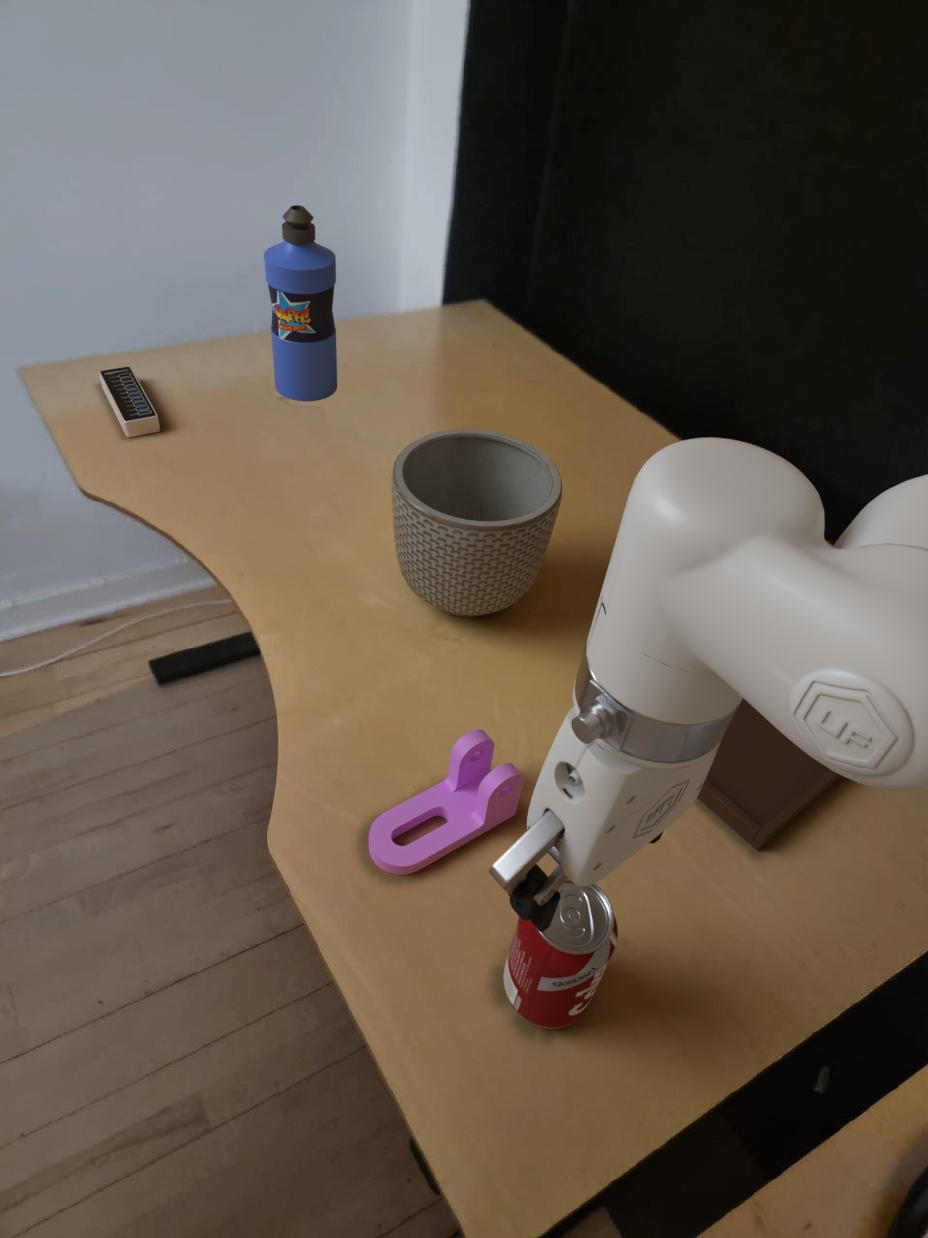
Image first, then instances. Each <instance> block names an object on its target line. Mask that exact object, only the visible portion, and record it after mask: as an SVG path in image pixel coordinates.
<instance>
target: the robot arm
mask: <svg viewBox="0 0 928 1238" xmlns="http://www.w3.org/2000/svg"><path fill="white" fill-rule="evenodd" d="M825 522H826V521H825V508H824V506H823V502H822V499H821V496H820V494H819V492H818V490H817V489H816V487H815V486H814V485H813V483H812V482H811V481H810V480H809V479H808V478H807V476H806V475H805V474H804V473H803V472H802V471H801V470H800V469H798V468H797V467H796V466H795V465H793V464H792V463H791V462H790V461H788V460H787V459H785V458H783V457H782V456H780V455H778V454H776V453H774V452H772V451H770V450H767V449H766V448H763V447H762V446H758V445H755V444H752V443H748V442H745V441H741V440H736V439H732V438H723V437H713V436H712V437H696V438H690V439H684V440H680V441H677V442H673V443H670V444H668V445H667V446H665V447H662V449H660V450H658V451H656V453H654V454H652V456H651V457H649V458H648V459H647V460H646V461H645V462H644V464H643V466H642V467H641V469H639V471H638V472H637V474H636V476H635V478H634V480H633V483H632V485H631V489H630V491H629V494H628V497H627V500H626V503H625V507H624V511H623V514H622V518H621V521H620V524H619V529H618V531H617V535H616V539H615V542H614V545H613V549H612V551H611V556H610V559H609V563H608V566H607V570H606V573H605V576H604V579H603V584H602V587H601V591H600V594H599V597H598V601H597V604H596V608H595V611H594V615H593V618H592V622H591V625H590V629H589V632H588V636H587V639H586V642H585V646H584V649H583V652H582V654H581V655H582V656H581V659H580V663H579V666H578V670H577V673H576V677H575V680H574V683H573V688H572V705H573V706H572V707H571V708H570V710H569V711H568V712H567V714H566V716H565V718H564V719H563V721H562V724H561V726H560V728H559V730H558V731H557V734H556V736H555V737H554V740H553V742H552V744H551V747H550V749H549V751H548V753H547V755H546V758H545V760H544V763H543V765H542V768H541V770H540V772H539V775H538V777H537V780H536V784H535V787H534V788H533V792H532V796H531V799H530V802H529V806H528V811H527V817H526V831H525V832H524V833H523V834H522V835H521V837H519V838H518V839H517V840H516V841H515V842H514V843H513V844H512V845H511V846H510V847H509V848H508V849H507V850H506V851H505V852H504V853H503V854H502V855H500V857H498V858H497V860H496V861H494V863H492V865H491V866H490V867H489V869H488V873H489V874H490V876H491V877H492V878H493V879H494V880H495V882H497V884H498V885H499V886H500V887H501V888H502V889H503V891H505V892H506V893H507V895H508V897H509V901H508V902H509V904H510V906H511V908H512V910H513V911H514V912H515V914H516V915H517V916H518V918H519V917H520V918H521V919H522V920H524V921H528V920H530V921H531V922H532V923H533V924H534V926H535V927H536V928H537V929H538V930H539V931H540V932H544V931H545V930H546V929H548V928H549V927H550V925H551V922H552V919H553V917H554V914H555V911H556V908H557V906H558V903H559V900H560V898H561V897H560V893H559V892H558V889H559V888H560V887H561V885H562V884H563V883H564V882H565V881H566V879H567V878H569V879H570V880H571V881H572V882H573V883H574V884H575V885H576V886H583V887H584V886H590V885H593V884H597V883H598V882H600V881H601V880H603V879H604V878H606V877H607V876H609V875H610V874H611V873H612V872H614V871H615V870H616V869H618V868H619V867H620V866H621V865H623V864H624V863H625V862H626V861H628V860H629V859H630V858H632V857H633V856H634V855H636V854H637V853H638V852H640V851H641V850H642V849H643V848H645V847H646V846H647V845H648V844H656V843H657V842H658V841H660V840H661V838H662V837H663V834H664V832H665V831H666V829H668V828H669V827H670V826H672V825H673V824H674V823H675V822H677V821H678V820H679V819H680V818H681V817H682V816H684V814H685V813H686V812H687V811H689V810H690V808H691V807H692V806H693V805H694V804H695V802H696V800H697V799H698V798H697V796H698V794H699V792H700V790H701V788H702V786H703V783H704V781H705V779H706V777H707V774H708V772H709V770H710V767H711V765H712V763H713V760H714V758H715V756H716V753H717V751H718V748H719V746H720V743H721V741H722V738H723V736H724V734H725V732H726V730H727V728H728V726H729V724H730V722H731V720H732V719H733V717H734V715H735V713H736V711H737V709H738V707H739V705H740V703H741V701H742V699H743V698H744V699H745V700H746V701H747V702H748V703H749V704H750V705H751V706H753V707H754V708H755V709H756V710H757V711H758V712H759V713H760V714H761V715H762V716H763V717H765V718H766V719H767V720H768V721H769V722H770V723H771V724H772V725H773V726H774V727H775V728H777V729H778V730H779V731H780V732H781V733H782V734H783V735H785V736H786V737H787V738H788V739H789V740H790V741H792V742H793V743H794V744H795V745H797V746H798V747H799V748H800V749H802V750H803V751H804V752H805V753H807V754H808V755H809V756H810V757H812V758H813V759H815V760H817V761H818V762H820V763H821V764H823V765H824V766H826V767H827V768H829V769H831V770H832V771H834V772H836V773H838V774H840V775H842V776H841V777H844V778H847V779H848V780H851V781H854V782H855V783H857V784H861V785H864V786H867V787H870V788H875V789H880V790H884V791H885V790H886V791H912V790H919V789H925V788H928V474H924V475H920V476H917V477H913V478H910V479H907V480H905V481H903V482H900V483H898V484H897V485H895V486H893V487H890V488H888V489H887V490H884V491H883V492H881V493H880V494H878V495H877V496H876V497H874V498H873V499H872V500H871V501H869V502H868V503H867V504H866V505H865V506H864V507H863V508H862V509H861V510H860V511H859V513H858V514H857V515H856V516H855V517H854V519H853V520H851V523H850V524H849V525H848V526H847V527H846V528H845V530H844V531H843V532H842V533H841V534H840V536H839V537H838V538H837V540H836V541H835V543H834V545H833V546H832V545H830V544H829V543H828V542H827V541H826V539H825V529H826V527H825V526H826V524H825ZM547 854H548V855H549V856H550V857H551V858H552V859H553V860H554V861H555V862H556V863H557V866H556V867H555V868H554V870H553V871H552V872H551V874H549V876H548V875H547V874H546V873H545V871H544V870H543V869H542V868H541V867H540V866H539V865H538V863H539V862H540V861H541V860H542V859H543V858H544V857H545V856H546V855H547Z"/></svg>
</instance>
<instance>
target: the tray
mask: <svg viewBox="0 0 928 1238" xmlns="http://www.w3.org/2000/svg"><path fill="white" fill-rule="evenodd" d="M841 777H843V776H842V775H840V774H838V773H836V772H834V771H832V770H831V769H829V768H827V767H826V766H824V765H823V764H821V763H820V762H818V761H817V760H815V759H813V758H812V757H810V756H809V755H808V754H807V753H805V752H804V751H803V750H802V749H800V748H799V747H798V746H797V745H795V744H794V743H793V742H792V741H790V740H789V739H788V738H787V737H786V736H785V735H783V734H782V733H781V732H780V731H779V730H778V729H777V728H775V727H774V726H773V725H772V724H771V723H770V722H769V721H768V720H767V719H766V718H765V717H763V716H762V715H761V714H760V713H759V712H758V711H757V710H756V709H755V708H754V707H753V706H751V705H750V704H749V703H748V702H747V701H746V700H745V699H744V698H743V699H742V701H741V703H740V705H739V707H738V709H737V711H736V713H735V715H734V717H733V719H732V720H731V722H730V724H729V726H728V728H727V730H726V732H725V734H724V736H723V738H722V741H721V743H720V746H719V748H718V751H717V753H716V756H715V758H714V760H713V763H712V765H711V767H710V770H709V772H708V774H707V777H706V779H705V781H704V783H703V786H702V788H701V790H700V792H699V794H698V796H697V798H696V799H698V800H699V801H700V802H702V803H703V804H704V805H705V806H706V807H707V808H708V809H709V810H711V812H713V813H714V814H715V815H716V816H718V817H719V819H720V820H722V821H723V822H724V823H725V824H726V825H727V826H729V827H730V828H731V829H732V830H733V831H734V832H735V833H737V834H738V835H739V836H740V838H741V839H743V840H745V842H747V844H749V845H750V846H751V847H752V848H753V849H754V850H756V851H757V852H758V851H759V850H760V849H761V848H763V847H764V846H765V845H766V844H767V843H768V842H769V841H770V840H771V839H773V838H774V837H775V836H776V835H777V834H779V832H781V830H783V828H785V827H786V826H788V825H789V824H790V823H791V822H792V821H793V820H794V819H795V818H796V817H797V816H799V815H800V814H801V813H802V812H803V811H804V810H805V809H806V808H808V807H809V806H810V805H811V804H812V803H813V802H814V801H815V800H816V799H818V798H819V797H820V796H821V795H822V794H823V793H825V792H826V791H827V790H828V789H829V788H830V787H831V786H832V785H833V784H834V783H836V782H837V781H838V780H839V779H841Z"/></svg>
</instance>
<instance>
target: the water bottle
mask: <svg viewBox="0 0 928 1238" xmlns="http://www.w3.org/2000/svg"><path fill="white" fill-rule="evenodd" d="M282 219H283V220H284V222H282V224H281V233H282V239H283V241H282V242H280V243H277V244H274V245H272V246H270V247H268V248H267V249H266V250H264V253H263V260H264V261H263V262H264V273H265V274H264V275H265V282H266V283H267V286H268V292H269V298H270V303H271V307H272V309H271V324H270V335H271V349H272V362H273V376H274V388H275V391H276V392H277V393H278V394H279V395H281V396H282V397H283V398H285V399H289V400H291V401H296V402H305V403H306V402H317V401H322V400H325V399H327V398H329V397H331V396H333V395H334V394H335V392H337V388H338V357H337V354H338V353H337V350H338V349H337V329H336V324H335V318H334V312H333V306H334V295H335V286H336V285H335V284H336V283H337V282H336V281H337V258H336V254H335V252H334V251H332V250H331V249H330V248H328V247H326V246H324V245H321V244H319V243H316V241H315V240H316V226H315V224H314V223H313V220H314V216H313V215H312V214H311V212H309V210H308V209H306V207H305V206H303V205H299V204H295V205H291V206H290V207H289V208H288V209H287V210H286V212H284V214H283V215H282Z"/></svg>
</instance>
